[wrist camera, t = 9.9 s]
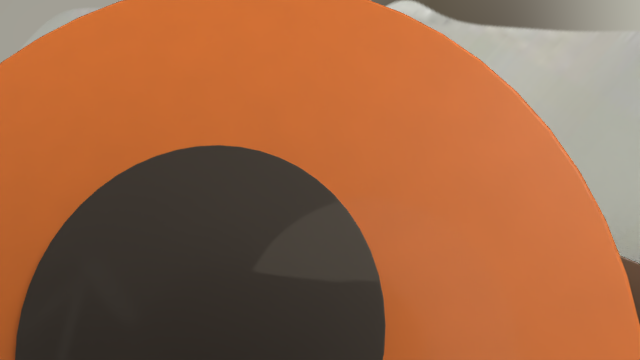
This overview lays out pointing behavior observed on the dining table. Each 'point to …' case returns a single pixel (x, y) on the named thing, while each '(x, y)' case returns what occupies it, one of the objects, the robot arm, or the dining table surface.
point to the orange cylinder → (290, 195)
